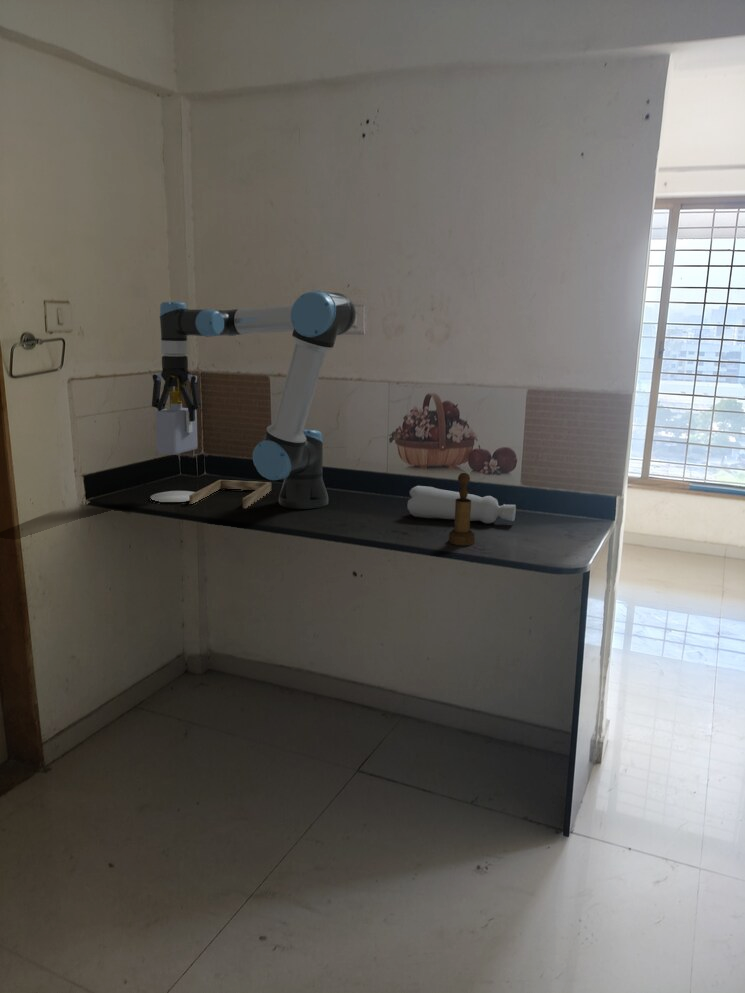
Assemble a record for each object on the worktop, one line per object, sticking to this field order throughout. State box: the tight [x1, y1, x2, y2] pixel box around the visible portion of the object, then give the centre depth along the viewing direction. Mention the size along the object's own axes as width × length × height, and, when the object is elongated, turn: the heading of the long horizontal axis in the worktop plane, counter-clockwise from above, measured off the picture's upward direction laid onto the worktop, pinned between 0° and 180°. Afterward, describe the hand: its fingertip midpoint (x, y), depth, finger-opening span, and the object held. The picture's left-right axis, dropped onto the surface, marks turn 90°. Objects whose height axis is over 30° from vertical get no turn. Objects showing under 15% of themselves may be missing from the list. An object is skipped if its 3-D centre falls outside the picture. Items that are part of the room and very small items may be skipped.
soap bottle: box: [155, 374, 198, 456], centre depth 231 cm, size 12×7×23 cm, turn 158°
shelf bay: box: [189, 479, 273, 509], centre depth 241 cm, size 18×24×3 cm
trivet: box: [149, 490, 196, 502], centre depth 240 cm, size 15×15×1 cm
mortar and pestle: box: [448, 472, 475, 546], centre depth 194 cm, size 7×6×18 cm
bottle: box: [407, 485, 517, 525], centre depth 217 cm, size 9×9×30 cm
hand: (177, 431), depth 233 cm, fingers closed on soap bottle, 7 cm apart
